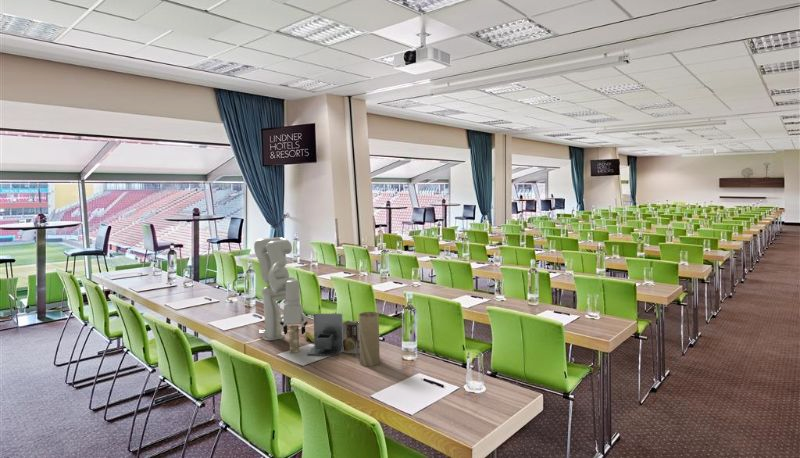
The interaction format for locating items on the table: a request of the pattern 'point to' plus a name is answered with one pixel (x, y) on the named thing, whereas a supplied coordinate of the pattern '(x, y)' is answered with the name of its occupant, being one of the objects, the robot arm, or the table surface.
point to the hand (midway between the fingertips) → (294, 333)
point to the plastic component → (309, 336)
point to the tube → (369, 338)
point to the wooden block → (294, 338)
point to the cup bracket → (327, 334)
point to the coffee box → (351, 337)
